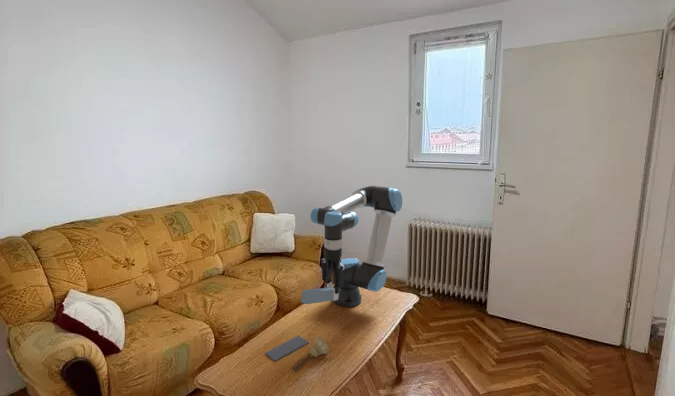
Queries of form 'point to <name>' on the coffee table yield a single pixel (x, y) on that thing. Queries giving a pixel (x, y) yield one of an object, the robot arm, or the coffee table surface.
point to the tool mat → (286, 348)
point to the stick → (317, 295)
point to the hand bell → (313, 352)
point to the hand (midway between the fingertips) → (332, 298)
